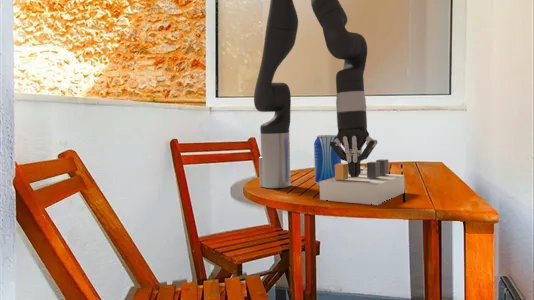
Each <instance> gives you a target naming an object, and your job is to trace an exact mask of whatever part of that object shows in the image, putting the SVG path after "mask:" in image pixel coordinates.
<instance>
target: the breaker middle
mask: <svg viewBox="0 0 534 300" xmlns="http://www.w3.org/2000/svg"><path fill="white" fill-rule="evenodd" d="M366 173H367V178H377V177H380V162H376V161H369V162H366Z"/></svg>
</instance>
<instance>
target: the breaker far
mask: <svg viewBox="0 0 534 300" xmlns="http://www.w3.org/2000/svg"><path fill="white" fill-rule="evenodd" d="M375 162H380V175H386V174H389V159H376V160H375Z"/></svg>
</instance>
